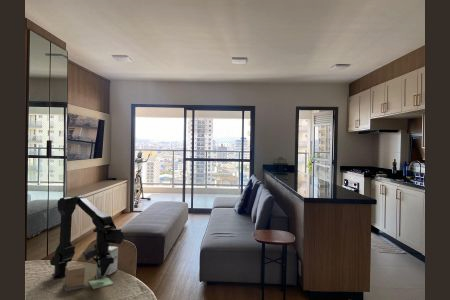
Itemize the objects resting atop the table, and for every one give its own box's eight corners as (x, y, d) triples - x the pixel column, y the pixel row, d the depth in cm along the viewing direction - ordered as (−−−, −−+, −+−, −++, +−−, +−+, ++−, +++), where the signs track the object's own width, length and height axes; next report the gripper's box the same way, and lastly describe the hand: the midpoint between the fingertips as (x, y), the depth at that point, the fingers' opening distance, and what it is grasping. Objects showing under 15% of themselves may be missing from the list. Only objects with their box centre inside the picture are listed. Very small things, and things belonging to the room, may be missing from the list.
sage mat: (88, 282, 142) (88, 281, 142) (107, 278, 148) (107, 277, 148) (93, 288, 135) (93, 287, 135) (113, 284, 141) (113, 283, 141)
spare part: (94, 276, 142) (95, 266, 142) (104, 274, 145) (105, 264, 145) (97, 279, 138) (97, 268, 139) (107, 277, 141) (107, 267, 142)
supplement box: (109, 275, 152) (110, 250, 153) (97, 273, 154) (98, 249, 155) (117, 270, 160) (118, 246, 160) (105, 269, 161) (106, 245, 162)
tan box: (63, 286, 138) (64, 266, 138) (82, 282, 142) (82, 263, 143) (65, 291, 132) (66, 270, 133) (85, 287, 137) (86, 267, 137)
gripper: (80, 239, 145) (78, 272, 144) (89, 248, 130) (87, 284, 129) (103, 236, 152) (102, 267, 151) (114, 245, 137) (113, 279, 136)
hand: (101, 274), depth 142 cm, fingers closed on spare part, 4 cm apart
